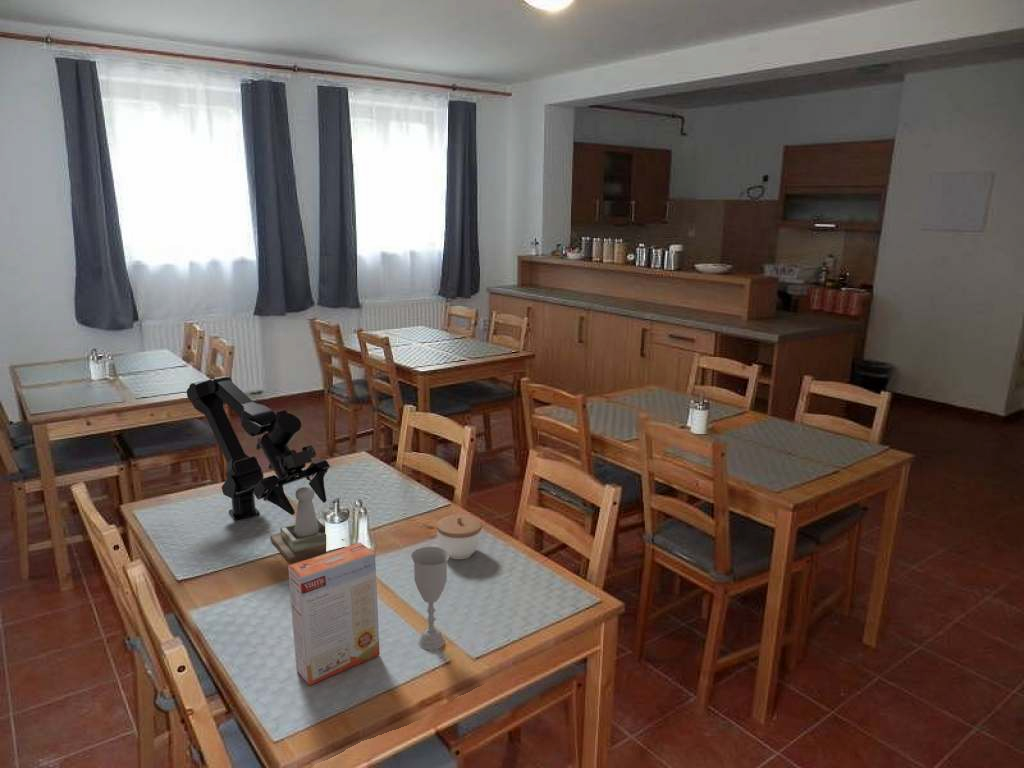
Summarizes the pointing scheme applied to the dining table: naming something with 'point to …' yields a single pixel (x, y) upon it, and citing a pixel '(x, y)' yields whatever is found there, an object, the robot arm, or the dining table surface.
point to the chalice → (430, 588)
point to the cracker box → (334, 611)
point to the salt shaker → (305, 514)
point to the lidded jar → (459, 535)
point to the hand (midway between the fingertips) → (309, 507)
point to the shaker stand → (299, 543)
